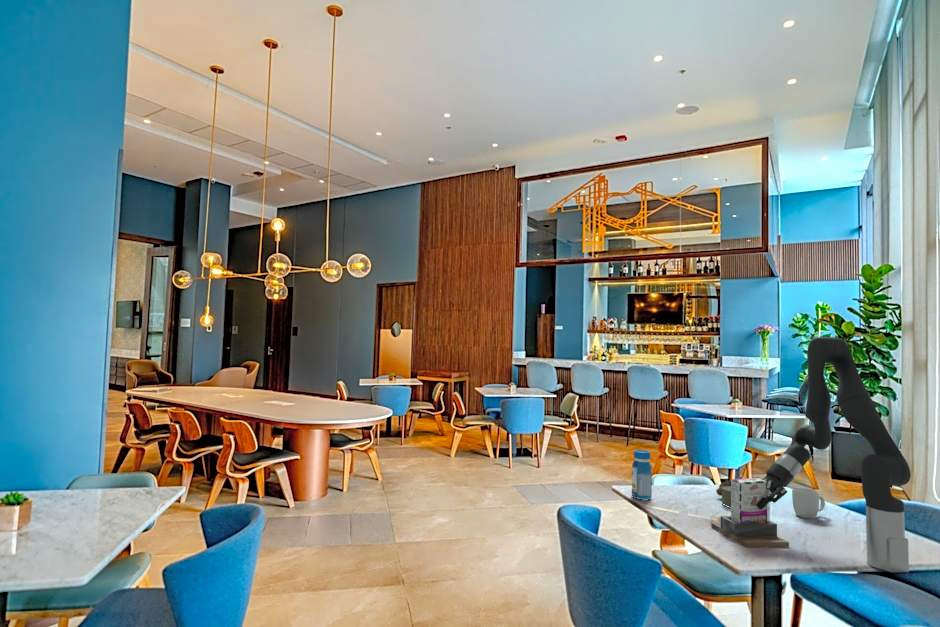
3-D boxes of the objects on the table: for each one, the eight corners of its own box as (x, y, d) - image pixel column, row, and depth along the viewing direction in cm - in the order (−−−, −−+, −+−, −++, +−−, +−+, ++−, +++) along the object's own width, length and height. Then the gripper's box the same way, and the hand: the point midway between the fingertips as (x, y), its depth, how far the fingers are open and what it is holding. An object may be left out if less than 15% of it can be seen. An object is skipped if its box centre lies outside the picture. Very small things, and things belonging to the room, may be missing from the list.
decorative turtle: (756, 500, 232) (755, 482, 232) (726, 504, 228) (726, 486, 228) (739, 493, 241) (738, 476, 241) (711, 497, 237) (710, 479, 237)
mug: (804, 520, 206) (804, 493, 206) (787, 512, 215) (786, 487, 215) (833, 519, 208) (832, 493, 209) (814, 512, 217) (814, 487, 217)
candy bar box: (756, 524, 188) (757, 477, 189) (767, 529, 183) (768, 481, 184) (729, 526, 185) (730, 478, 186) (740, 531, 180) (740, 482, 181)
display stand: (789, 546, 175) (789, 529, 175) (747, 547, 173) (747, 530, 173) (749, 526, 195) (749, 511, 195) (711, 527, 193) (711, 511, 193)
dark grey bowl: (714, 502, 226) (714, 486, 227) (737, 501, 230) (737, 485, 231) (737, 511, 215) (737, 493, 215) (760, 509, 219) (760, 492, 219)
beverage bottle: (645, 502, 223) (646, 453, 225) (627, 497, 230) (628, 450, 231) (655, 498, 229) (656, 451, 230) (637, 494, 235) (638, 448, 237)
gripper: (763, 458, 194) (732, 492, 192) (791, 466, 180) (759, 503, 178) (776, 472, 195) (746, 506, 192) (806, 482, 180) (774, 519, 178)
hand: (753, 505), depth 185 cm, fingers closed on candy bar box, 5 cm apart
